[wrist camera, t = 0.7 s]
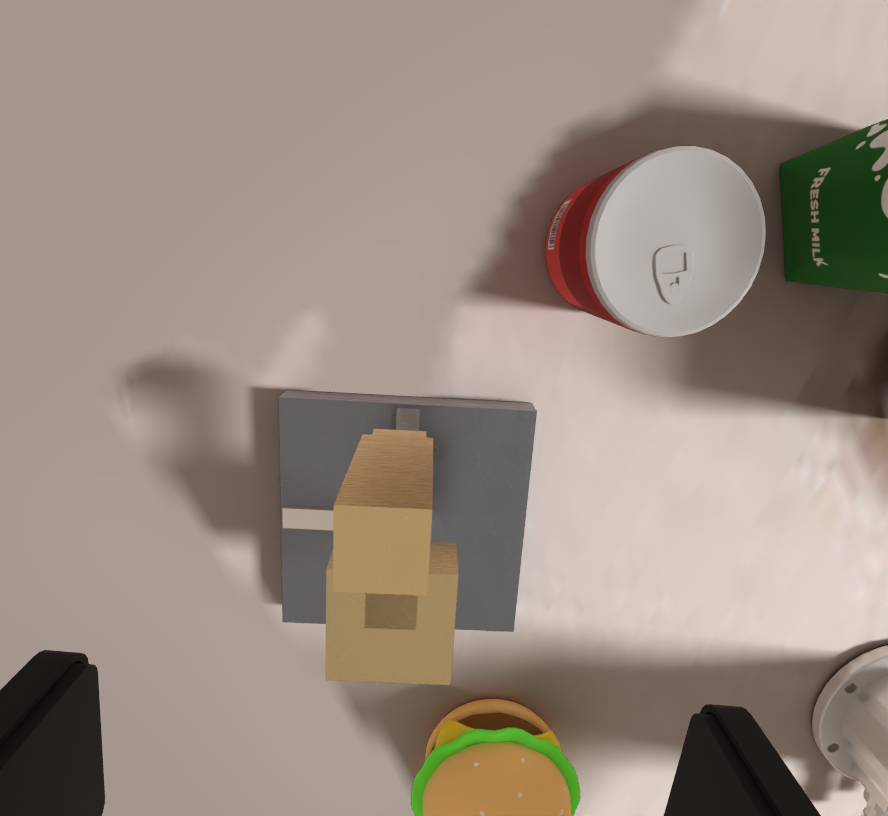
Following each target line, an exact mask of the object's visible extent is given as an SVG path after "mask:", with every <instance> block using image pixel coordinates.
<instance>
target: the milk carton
mask: <svg viewBox="0 0 888 816" xmlns="http://www.w3.org/2000/svg"><path fill="white" fill-rule="evenodd" d="M780 181H781V200H782V220H783V240H784V259H785V280H786V281H791V282H800V283H808V284H816V285H824V286H832V287H840V288H848V289H856V290H865V291H874V292H884V293H888V119H887V120H884V121H881V122H879V123H876V124H873V125H871V126H868V127H866V128H864V129H861V130H859V131H857V132H854V133H852V134H850V135H848V136H845V137H843V138H841V139H838V140H836V141H834V142H831V143H829V144H827V145H824V146H822V147H820V148H817V149H815V150H812V151H810V152H808V153H805V154H803V155H801V156H798V157H796V158H794V159H791V160H789V161H786V162H784V163H782V164H780Z"/></svg>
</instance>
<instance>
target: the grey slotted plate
mask: <svg viewBox="0 0 888 816" xmlns="http://www.w3.org/2000/svg"><path fill="white" fill-rule="evenodd" d="M536 414H537V411H536V409H535V408H534V406H533V404H532V403H524V402H505V401H486V400H468V399H449V398H431V397H412V396H393V395H374V394H356V393H337V392H319V391H301V390H286V391H285V392H284V393H283V394H282V395H281V396H279V447H280V502H281V558H282V613H283V622H294V623H318V624H326V569H327V566H328V563H329V560H330V557H331V554H332V551H333V531H334V503H335V501H336V498H337V496H338V493H339V491H340V488H341V486H342V483H343V481H344V479H345V476H346V474H347V471H348V469H349V466H350V464H351V461H352V459H353V457H354V454H355V452H356V449H357V447H358V444H359V442H360V439H361V437H362V434H367V435H372V433H373V430H374V429H388V430H407V431H426V432H427V433H426V438H433V501H432V525H431V542H452V543H456V547H457V561H458V588H457V602H456V615H455V629H461V630H485V631H509V632H513V631H514V622H515V612H516V603H517V593H518V584H519V574H520V565H521V556H522V546H523V537H524V527H525V518H526V508H527V499H528V489H529V480H530V470H531V461H532V452H533V442H534V433H535V423H536Z"/></svg>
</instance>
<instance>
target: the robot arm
mask: <svg viewBox="0 0 888 816" xmlns="http://www.w3.org/2000/svg"><path fill="white" fill-rule="evenodd" d="M812 728H813V735H814V738H815V741H816V744H817V746H818V748H819V749H820V751H821V752H822V754H823V755H824V756H825V758H826V759H827V760H828V761H829V762H830V764H831V765H832V766H833V767H834V768H835V769H836V770H838V771H839V772H840V773H842V774H843V775H844V776H847V777H849V778H851V779H853V780H855V781H859V782H860V783H861V784H862V785H863V786H864V788H865V789H864V798H865V800H866V802H867V806H866V807H865V809H864V810H863V812H862V815H861V816H888V645H887V646H883V647H879V648H876V649H874V650H871V651H869V652H866V653H864V654H862V655H860V656H859V657H857V658H855V659H854V660H852V661H850V662H849V663H848V664H846V665H845V666H844V667H843V668H841V669H840V670H839V671H838V672H837V673H836V674H835V675H834V676H833V677H832V678H831V679H830V680H829V681H828V683H827V684H826V686H825V687H824V689H823V690H822V692H821V693H820V695H819V697H818V700H817V703H816V705H815V708H814V712H813V718H812ZM104 804H105V791H104V774H103V757H102V738H101V722H100V704H99V685H98V671H97V667H96V666H95V665H91V664H89V663H88V658H87V656H86V655H85V654H82V653H74V652H73V653H72V652H61V651H49V650H44V651H42V652H39V653H38V654H36V655H35V656H34V657H33V658H32V659H31V660H30V661H29V662H28V663H27V664H26V665H25V666H24V667H23V668H22V669H21V670H20V671H19V672H18V673H17V674H16V675H15V676H14V677H13V678H12V679H11V680H10V681H9V682H8V683H7V684H6V685H5V686H4V687H3V688H2V689H1V690H0V816H102V813H103V809H104ZM664 816H821V815H820V814H819V812H818V811H817V810H816V808H815V807H814V805H813V804H812V802H811V801H810V799H809V798H808V796H807V795H806V794H805V792H804V791H803V789H802V788H801V786H800V785H799V783H798V782H797V781H796V779H795V778H794V776H793V775H792V773H791V772H790V770H789V769H788V767H787V766H786V765H785V763H784V762H783V760H782V759H781V757H780V756H779V754H778V753H777V752H776V750H775V749H774V747H773V746H772V744H771V743H770V741H769V740H768V738H767V737H766V736H765V734H764V733H763V731H762V730H761V728H760V727H759V725H758V724H757V722H756V721H755V720H754V718H753V717H752V715H751V714H750V713H749V712H748V711H747V710H746V709H744V708H742V707H734V706H722V705H705V706H704V707H703V708H702V710H701V712H700V714H694V715H693V716H692V718H691V720H690V724H689V727H688V731H687V735H686V738H685V742H684V745H683V749H682V753H681V756H680V760H679V763H678V767H677V770H676V774H675V778H674V781H673V785H672V788H671V792H670V796H669V799H668V803H667V806H666V810H665V813H664Z"/></svg>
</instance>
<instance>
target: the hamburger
mask: <svg viewBox="0 0 888 816" xmlns="http://www.w3.org/2000/svg"><path fill="white" fill-rule="evenodd" d="M579 801H580V788H579V782H578V778H577V774H576V772H575V769H574V768H573V767H572V765H571V764H570V763H569V761H568V760H567V758H566V757H565V755H564V754H563V753H562V750H561V747H560V744H559V741H558V739H557V737H556V735H555V734H554V732H553V731H552V730H551V729H549V728H548V726H547V725H546V724H545V723H544V721H543V720H542V719H541V718H540V717H539V716H538V715H536V714H535V713H534V712H532V711H531V710H530V709H528V708H526V707H524V706H522V705H521V704H518V703H515V702H512V701H508V700H502V699H483V700H476V701H473V702H469V703H466V704H464V705H462V706H459V707H457V708H456V709H454V710H453V711H451V712H450V713H448V714H447V715H446V716H445V717H444V718H443V719H442V720H441V721H440V722H439V724H438V725H437V726H436V727H435V729H434V730H433V732H432V734H431V736H430V738H429V740H428V744H427V747H426V752H425V762H424V764H423V766H422V768H421V769H420V771H419V772H418V773H417V775H416V776H415V778H414V781H413V786H412V794H411V805H412V810H413V811H414V814H415V816H574V813H575V811H576V808H577V805H578V804H579Z"/></svg>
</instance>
